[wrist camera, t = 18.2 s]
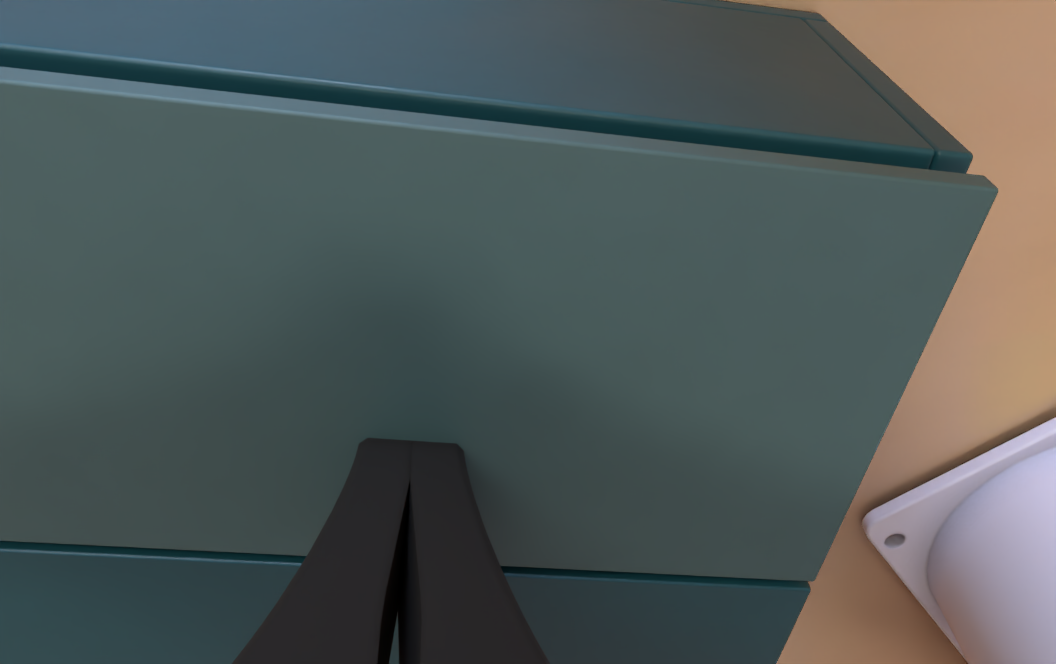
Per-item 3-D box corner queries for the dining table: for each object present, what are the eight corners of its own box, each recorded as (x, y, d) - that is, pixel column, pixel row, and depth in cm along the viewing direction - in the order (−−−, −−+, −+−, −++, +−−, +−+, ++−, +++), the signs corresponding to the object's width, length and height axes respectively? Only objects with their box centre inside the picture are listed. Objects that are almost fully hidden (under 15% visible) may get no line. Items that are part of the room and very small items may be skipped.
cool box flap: (-195, 42, 9) (-219, 55, 9) (984, 174, 11) (1001, 189, 11) (-52, 518, 13) (-64, 538, 13) (807, 563, 15) (814, 582, 14)
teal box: (37, -91, 15) (-227, 47, 9) (820, 12, 16) (1008, 183, 11) (129, 529, 22) (18, 808, 17) (650, 556, 24) (706, 818, 18)
